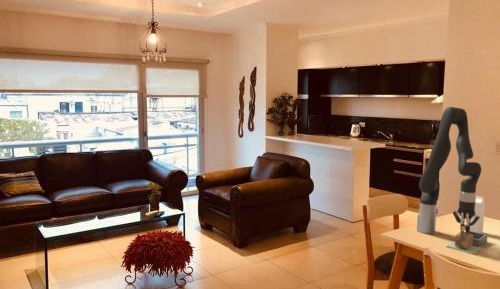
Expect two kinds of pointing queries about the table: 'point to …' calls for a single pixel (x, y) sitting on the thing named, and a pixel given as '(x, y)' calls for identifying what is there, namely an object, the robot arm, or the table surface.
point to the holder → (478, 238)
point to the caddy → (464, 239)
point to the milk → (479, 212)
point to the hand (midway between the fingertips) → (464, 231)
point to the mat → (470, 250)
